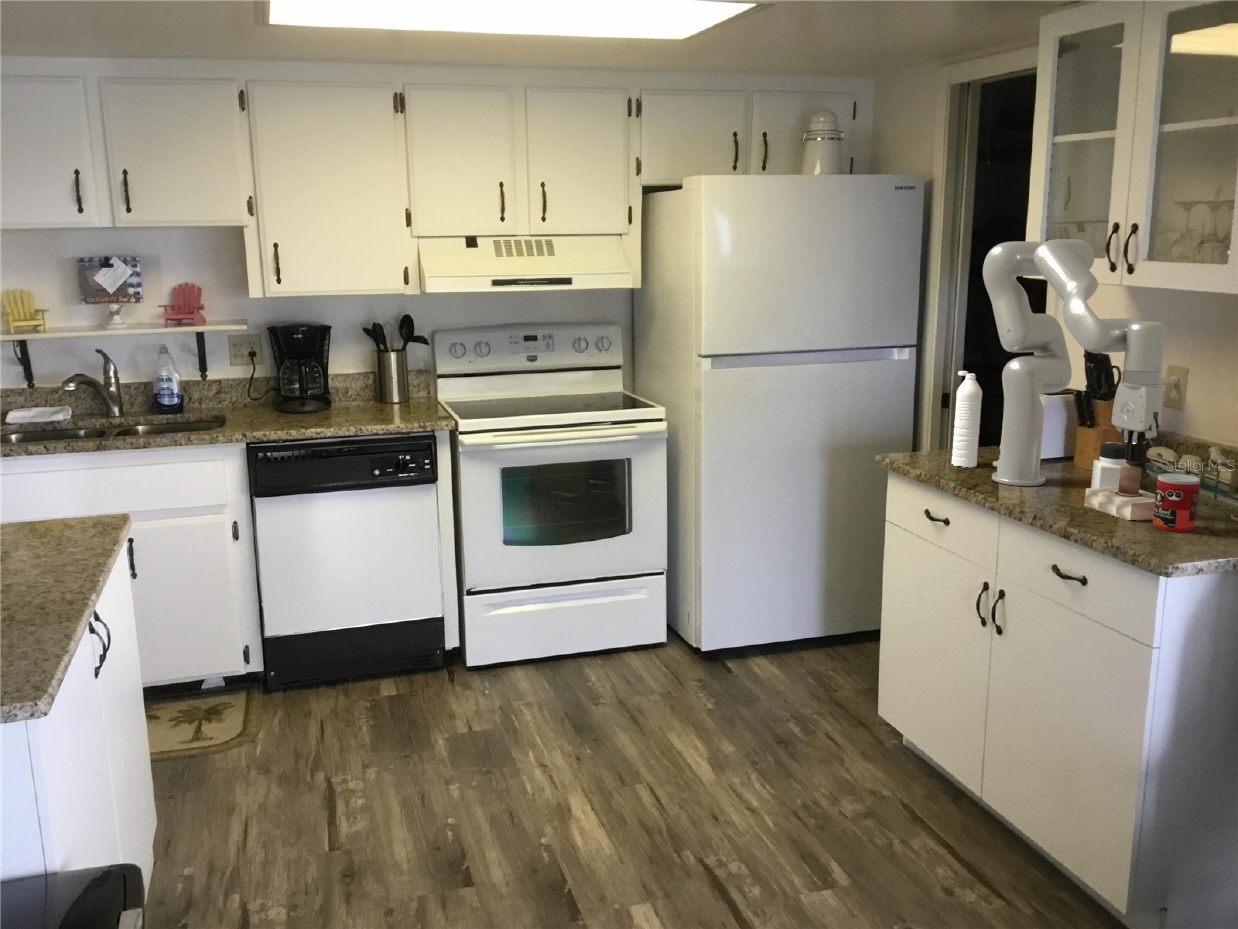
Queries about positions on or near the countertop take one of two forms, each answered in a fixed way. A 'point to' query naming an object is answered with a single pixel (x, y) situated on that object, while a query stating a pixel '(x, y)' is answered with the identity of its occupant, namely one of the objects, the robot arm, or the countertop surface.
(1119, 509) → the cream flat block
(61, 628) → the countertop surface
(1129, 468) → the peg
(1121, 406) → the robot arm
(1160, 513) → the canned food
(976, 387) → the water bottle
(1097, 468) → the medicine bottle
